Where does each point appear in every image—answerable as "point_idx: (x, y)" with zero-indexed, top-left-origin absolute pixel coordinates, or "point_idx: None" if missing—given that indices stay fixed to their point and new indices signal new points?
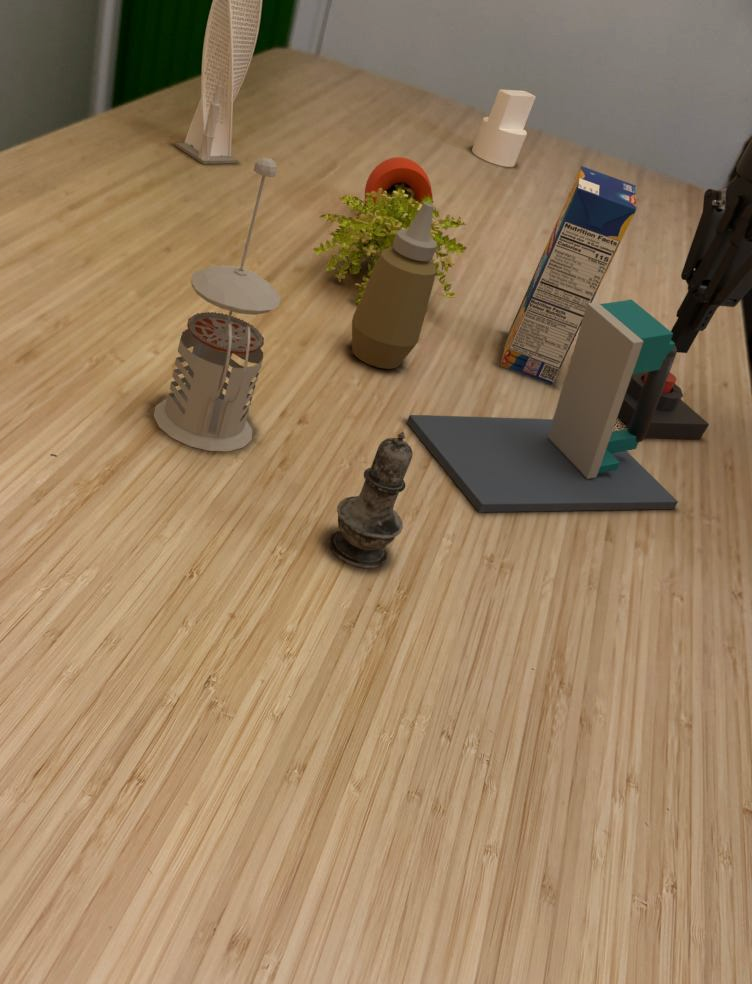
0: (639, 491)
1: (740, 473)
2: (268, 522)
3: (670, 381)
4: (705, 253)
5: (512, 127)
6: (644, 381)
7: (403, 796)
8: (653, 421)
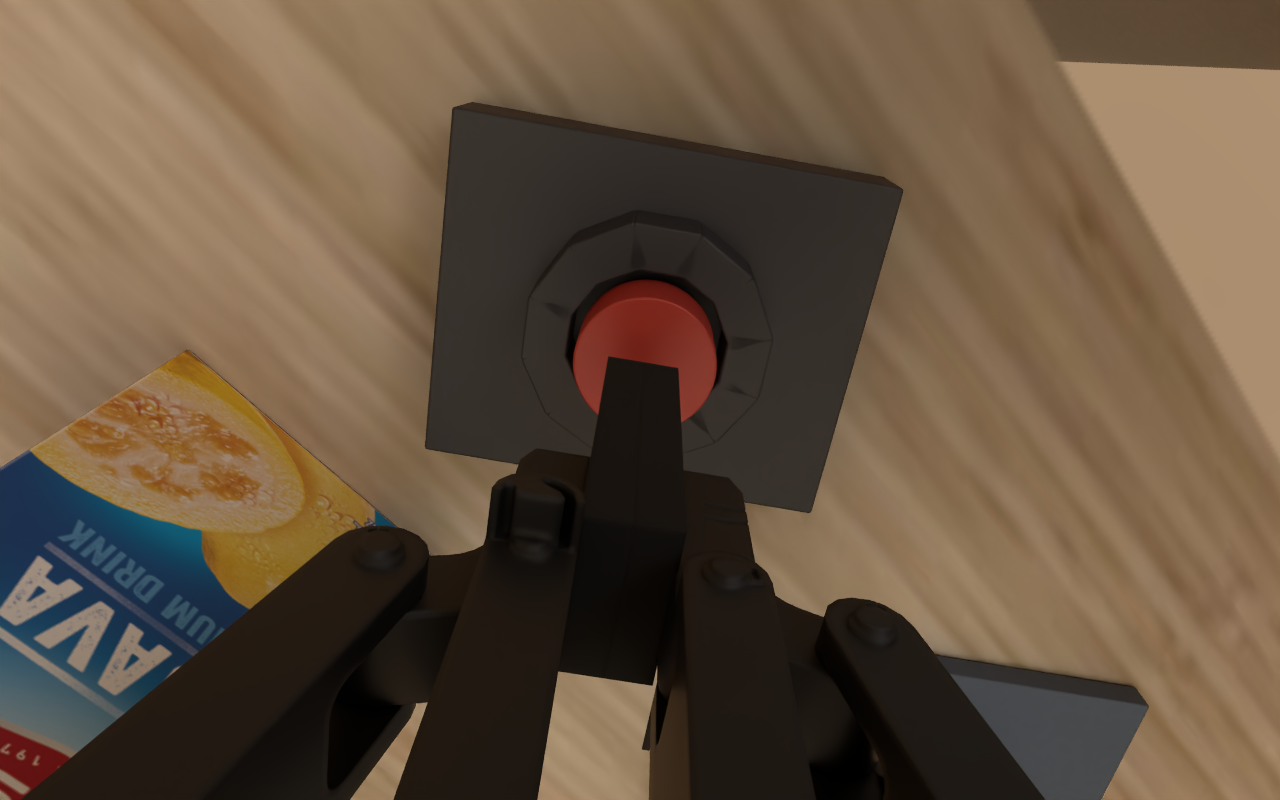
0: (1056, 784)
1: (1132, 203)
2: None
3: (711, 383)
4: (285, 789)
5: None
6: None
7: None
8: (811, 486)
